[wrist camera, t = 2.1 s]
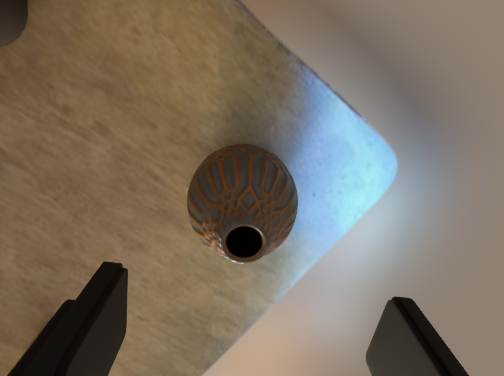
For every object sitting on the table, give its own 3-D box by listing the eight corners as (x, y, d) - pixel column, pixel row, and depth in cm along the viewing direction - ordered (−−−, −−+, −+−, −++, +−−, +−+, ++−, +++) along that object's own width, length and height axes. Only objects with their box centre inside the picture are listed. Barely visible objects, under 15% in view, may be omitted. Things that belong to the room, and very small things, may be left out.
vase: (299, 203, 24) (331, 274, 16) (218, 232, 24) (208, 316, 16) (269, 119, 21) (289, 153, 13) (179, 155, 22) (145, 208, 14)
